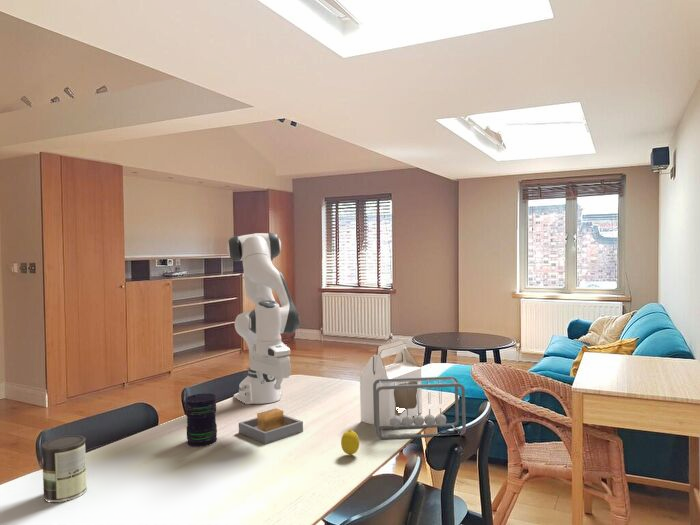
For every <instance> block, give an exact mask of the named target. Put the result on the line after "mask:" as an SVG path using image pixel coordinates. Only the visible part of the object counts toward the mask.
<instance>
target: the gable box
mask: <svg viewBox="0 0 700 525" xmlns="http://www.w3.org/2000/svg"><path fill="white" fill-rule="evenodd" d="M406 345H407V343H406V342H405V343H404V341H403V340H396V341H393V342H389V343H385V344H381V345H378V346H377V347H376V354H373V355H372V356H371V357H370V358H369V360H368V362H367V363H366V365H365V366H364V368H363V370H362V371H361V373H360V374H359V393H360V395H359V396H360V397H359V400H360V402H359V403H360V422H362V423H366V424H370V425H373V424H374V404H373V384H374V382H375V381H376V380H378V379H399V378H422V368H421V366H420V364H419V363H418V362H417V360H416V359H415V357H414V356H413V354H412V353H411V351H410V350H409V349H408V348H407V346H406ZM393 355H396V356H395V358H394V361H393V363H391V364H388V365H384V362H383V358H386V357H390V356H393ZM417 382H418V383H417V384H422V381H417ZM381 384H382V386H388V385H394V382H387V383H381ZM414 384H416V381H413V382H406V385H414ZM395 385H405V382H395ZM380 386H381V385H380V383H377V385H376V390H377V388H378V387H380ZM422 392H423V391H422V388H409V389H408V415H409V416H411V417H412V418H414V417H415V415H417V414H418V413H420V414H422V413H423V398H422V395H423V394H422ZM406 395H407V389H397V391H396V389H395V391H394V389H383V390H380V391H379V419H380V426H391V424H390V419H391V417H393V416H395V408H396V407H399V408H405V409H406V410H404V411H403V412H402V413H398V411H397V410H398V409H397V410H396V416H398V417H399V418H400V420H401V423H400V424H403V423H402V419H403V417H404V416H406V415H407V404H406ZM417 395H418V403H417ZM421 412H422V413H421ZM413 416H414V417H413Z"/></svg>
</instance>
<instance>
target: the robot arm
mask: <svg viewBox="0 0 700 525" xmlns="http://www.w3.org/2000/svg"><path fill="white" fill-rule="evenodd" d="M281 250H282V242H281V239H280V238H279V235H278V234H277V233H275V232H267V233H266V232H265V233H264V232H261V233H260V232H259V233H258V232H256V233H250V234H242V235H240V236H239V235H235V236H232V237H230V239H228V243H227V246H226V251H227V254H228V257H230V260H232V261H233V262H241V261H242V268H243V281H244V283H243V284H244V290H245V296H246V298H247V299H248V300H250V301H252V302H253V304H254V305H255V308H253V310H252V309H251V310H247V311H243V312H242V313H239V314H237V316H236V317H235V320H234V328H235V331H236V333H237V334H238V335H239V336H240V337H241V338H243V340H244V341H245V343H246V346H247V347H248V354H249V355H248V356H249V363H248V364H249V367H246V369H247V370H246V371H247V372H248V373H247V376H246V377H245V378H244V379H242V381H241V382H240V383H239V385H238V387H239V388H238V392H237V393H235V394H233V398H234V399H236V398H237V399H236V400H238V401H239V400H240V402H241V401H242V404H244V403H245V405H252V404H254V405H255V404H257V405H261V404H263V405H264V404H270V403H275V402H277V401H279V400H281V399H282V396H283V392H281V384H282V383H283V381H284V379H288V378H290V376H291V374H292V372H291V371H292V370H291V369H292V368H291V366H292V365H291V357H290V356H289V355H291V349H290V347H289V346H287V345H286V344H285V343H284V342H283V341H282V336H281V334H283V335H284V334H285V335H287V334H289V335H292V334H293V333H294V332H296V331H297V330H298V329H299V327H300V322H301V321H300V316H299V311H298V310H297V307H296V306H295V304H294V301H293V299H292V296H291V292H290V291H289V288H288V284H287V282H286V279H285V277H284V275H283V273H282V272H281V271H280V270H278V269H277V268H276V267H275V265H274V264H273V262H272V261H273V260H274V259H275V258H277V257H278V256H279V255H280V254H281ZM273 291H274V292H275V293H276V295H277V298H278V300H279V303H280V304H279V303H278V302H277V301H276V299H275V297H274V295H273Z"/></svg>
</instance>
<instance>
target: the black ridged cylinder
mask: <svg viewBox="0 0 700 525" xmlns="http://www.w3.org/2000/svg"><path fill="white" fill-rule="evenodd" d="M216 399H217V398H216V395H215V394H214V393H197V394H192V395H189V396H187V397H186V398H185V411H186V412H185V415H186V420H187V421H186V423H187V425H186V440H187V441H186V443H187V445H188V446H189V447H192V448H193V447H194V448H200V446H201V448H202V446H203V447H207V446H206V445H208V446H211V445H213V444H215V443H217V440H218V437H217V434H218V429H217V428H218V426H217V422H216V413H217V402H216ZM210 444H211V445H210Z"/></svg>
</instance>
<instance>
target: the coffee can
mask: <svg viewBox="0 0 700 525" xmlns="http://www.w3.org/2000/svg"><path fill="white" fill-rule="evenodd" d="M40 448H41V457H42V459H41V460H42V480H43V482H42V483H43V484H42V486H43V488H42V489H43V500H44V499H45V500H47V501H50V502H59V503H62V502H61V501H65V502H68V501H67V500H69V501H72V500H75V499H77V498H79V496H80V497H81V496H83V495H84V494H85V493H86V492H87V491H88V486H87V460H86V458H87V457H86V437H85V436H84V435H82V434H81V435H80V434H70V435H69V434H68V435H62V436H58V437H54V438H51V439H48V440H47V441H45V442H43V443H42V444H41V446H40ZM74 498H75V499H74ZM71 499H72V500H71ZM45 500H44V501H45Z"/></svg>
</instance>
